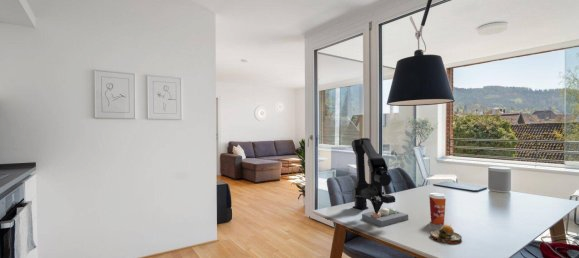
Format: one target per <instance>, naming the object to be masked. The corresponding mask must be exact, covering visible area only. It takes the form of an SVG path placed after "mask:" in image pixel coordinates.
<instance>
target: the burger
mask: <svg viewBox="0 0 579 258" xmlns="http://www.w3.org/2000/svg"><path fill="white" fill-rule="evenodd" d="M429 235H430V236H431V239H432V238H433V239H432V240H434V241H436V239H437V241H438V242H439V243H442V244H445V243H446V244H447V243H449V244H450V245H455V244H456V245H457V244H461V243H462V242H463V240H462V237H463V236H462V235H461V234H459V233H456V232H455V231H454V229H453V227H452V226H451V225H448V224H443V225H442V226H441V228H440V229H433V230H431V231H430V232H429Z"/></svg>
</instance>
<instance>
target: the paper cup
mask: <svg viewBox="0 0 579 258" xmlns="http://www.w3.org/2000/svg"><path fill="white" fill-rule="evenodd" d="M428 197H429V211H430V212H429V213H430V222H431V224H434V225H438V226H441V225H442V226H444V225H445V216H446V214H445V213H446V201H447V195H446V194H445V193H442V192H441V193H440V192H430V193H429V195H428Z"/></svg>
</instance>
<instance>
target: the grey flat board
mask: <svg viewBox="0 0 579 258" xmlns="http://www.w3.org/2000/svg"><path fill="white" fill-rule="evenodd" d="M387 209H390V208H387ZM372 212H375V211H374V210H372V211H370V212H364V213H362V214H361V220H364V221H367V222H369V223H372V224H374V225H377V226H380V227H386V226H389V225H392V224H397V223H400V222H404V221H408V220H409V214H407V213H404V212H400V211H398V210H397V214H391V213H389V216H383V215H381V218H374V217H372ZM379 212H380V213H381V209H380V210H379Z"/></svg>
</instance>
